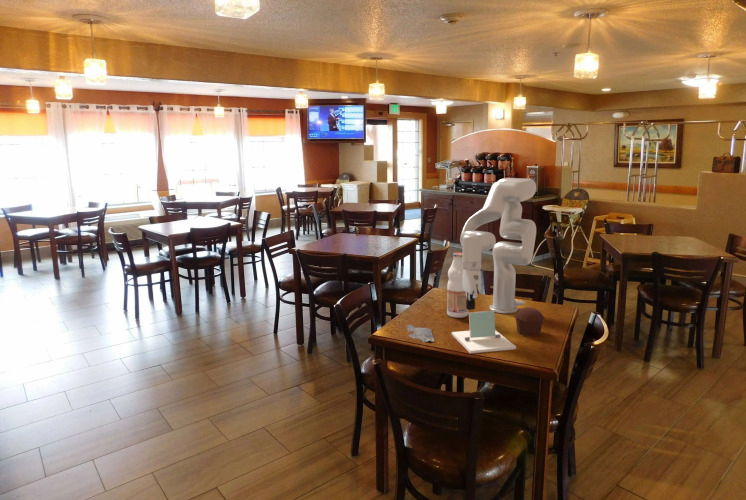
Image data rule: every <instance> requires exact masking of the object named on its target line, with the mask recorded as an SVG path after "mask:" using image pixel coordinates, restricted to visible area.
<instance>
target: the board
mask: <svg viewBox="0 0 746 500" xmlns="http://www.w3.org/2000/svg"><path fill="white" fill-rule="evenodd" d="M451 336H452V337H453V338H454V339H456V341H457V342H458V343H460V345H462V347H463V348H465V350H466V351H467V352H468V353H469V354H479V353H488V352H489V353H490V352H500V351H510V350H517V346H516V345H515V344H513V343H512V342H511V341H510V340H509V339H508V338H506V337H505V336H503V334H501V333H500V332H498V331H497V330H496V329H495V336H487V337H476V338H470V330H463V331H462V330H461V331H452V332H451Z"/></svg>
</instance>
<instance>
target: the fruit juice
mask: <svg viewBox="0 0 746 500" xmlns="http://www.w3.org/2000/svg"><path fill="white" fill-rule="evenodd" d="M452 257H453V259H452V262H451V265H450V267H449V269H448V271H447V277H448V281H447V285H446V288H447V290H446V292H447V295H446V313H447V315H448V316H449V317H451V318H456V319H457V318H460V319H461V318H466V317H468V316H469V310H468V309H466V292H465V290H464V289H463V288H462V276H463V269H462V252H454V253H452Z"/></svg>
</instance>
